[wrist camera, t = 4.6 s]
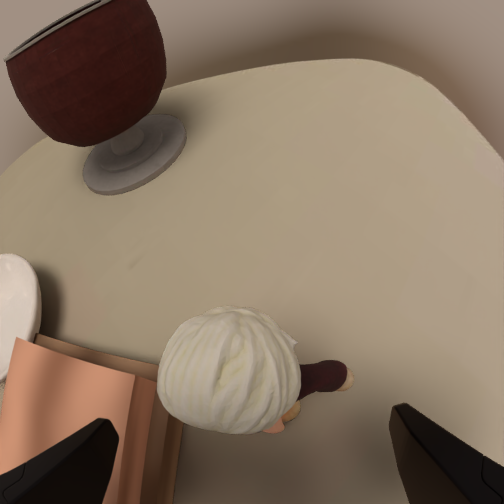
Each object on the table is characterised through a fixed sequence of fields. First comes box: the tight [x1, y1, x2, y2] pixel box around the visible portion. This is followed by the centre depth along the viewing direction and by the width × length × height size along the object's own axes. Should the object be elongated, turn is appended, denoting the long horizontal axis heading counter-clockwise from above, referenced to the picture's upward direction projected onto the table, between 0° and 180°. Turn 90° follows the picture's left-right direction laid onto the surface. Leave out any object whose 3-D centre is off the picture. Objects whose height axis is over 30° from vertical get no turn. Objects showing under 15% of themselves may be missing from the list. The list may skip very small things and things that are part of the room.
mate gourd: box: [3, 0, 186, 195], centre depth 22 cm, size 16×14×20 cm
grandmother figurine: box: [157, 306, 354, 435], centre depth 11 cm, size 8×4×13 cm, turn 104°
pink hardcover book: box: [0, 333, 184, 504], centre depth 13 cm, size 12×14×5 cm
